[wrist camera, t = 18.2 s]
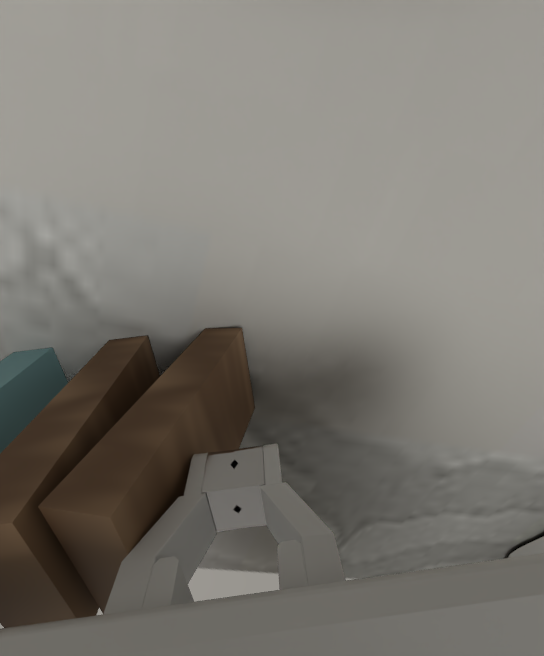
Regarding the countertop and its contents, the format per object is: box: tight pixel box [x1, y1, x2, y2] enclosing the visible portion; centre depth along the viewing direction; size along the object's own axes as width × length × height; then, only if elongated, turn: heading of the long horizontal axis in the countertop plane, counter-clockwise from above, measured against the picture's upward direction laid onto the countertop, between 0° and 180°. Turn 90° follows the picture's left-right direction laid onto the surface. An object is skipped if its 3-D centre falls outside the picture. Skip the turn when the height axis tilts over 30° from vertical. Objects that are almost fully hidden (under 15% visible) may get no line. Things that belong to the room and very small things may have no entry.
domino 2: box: [0, 335, 160, 628], centre depth 13 cm, size 2×5×10 cm, turn 6°
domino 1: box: [38, 328, 255, 614], centre depth 13 cm, size 2×5×10 cm, turn 6°
